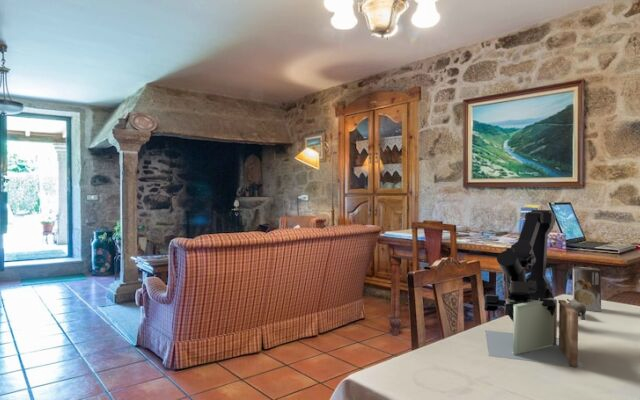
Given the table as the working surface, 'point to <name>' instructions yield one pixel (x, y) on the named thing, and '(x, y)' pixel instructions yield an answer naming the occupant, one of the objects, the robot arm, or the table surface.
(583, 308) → the rhino figurine
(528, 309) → the panel
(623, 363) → the table surface
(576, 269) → the coffee box
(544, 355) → the card
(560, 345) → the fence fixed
